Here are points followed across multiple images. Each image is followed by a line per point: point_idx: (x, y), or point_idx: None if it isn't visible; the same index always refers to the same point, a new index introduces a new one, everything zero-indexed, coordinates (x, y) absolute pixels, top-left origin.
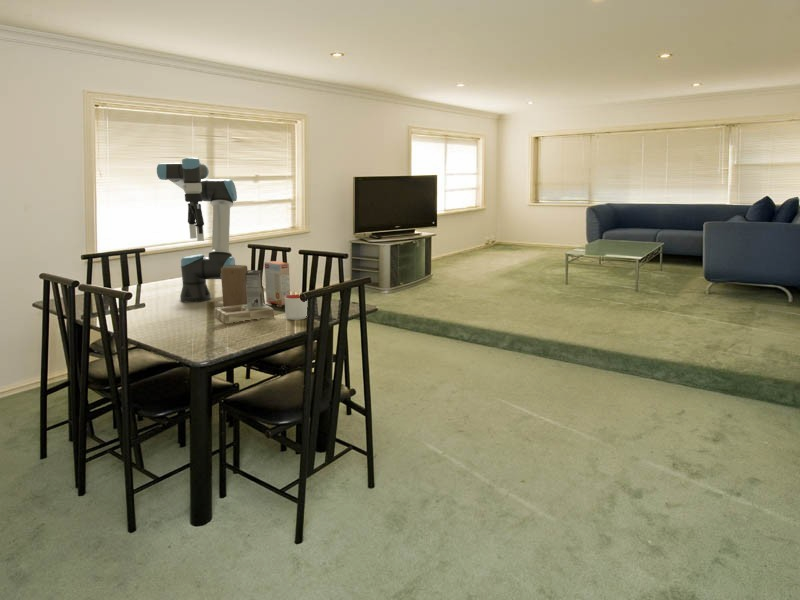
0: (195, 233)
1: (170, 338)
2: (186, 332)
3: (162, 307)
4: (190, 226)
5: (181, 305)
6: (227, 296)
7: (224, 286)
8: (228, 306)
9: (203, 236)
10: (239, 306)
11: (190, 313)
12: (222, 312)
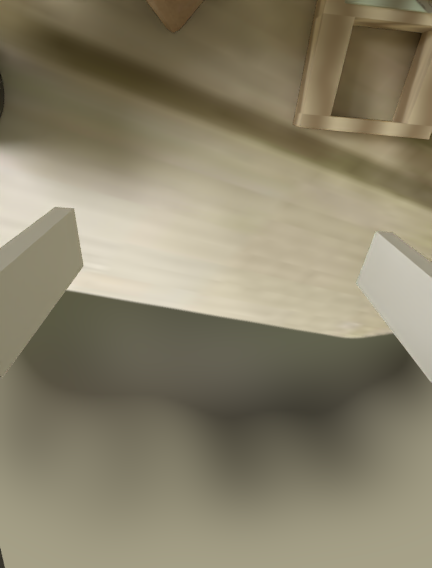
0: (52, 238)
1: None
2: None
3: None
4: (14, 347)
5: (51, 163)
6: (189, 5)
7: (176, 3)
8: (317, 68)
9: (415, 253)
10: (353, 23)
11: (196, 178)
12: (389, 132)
